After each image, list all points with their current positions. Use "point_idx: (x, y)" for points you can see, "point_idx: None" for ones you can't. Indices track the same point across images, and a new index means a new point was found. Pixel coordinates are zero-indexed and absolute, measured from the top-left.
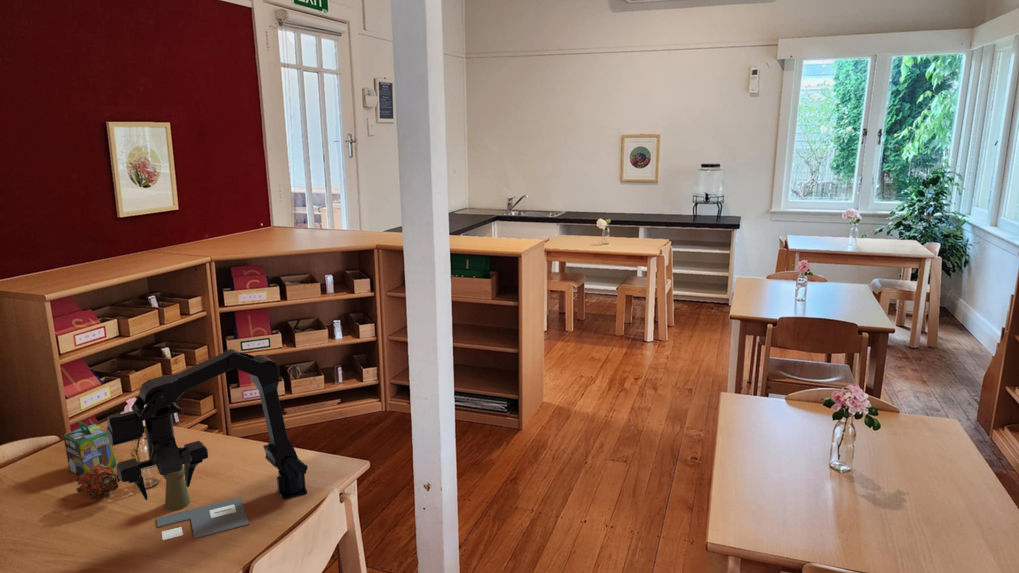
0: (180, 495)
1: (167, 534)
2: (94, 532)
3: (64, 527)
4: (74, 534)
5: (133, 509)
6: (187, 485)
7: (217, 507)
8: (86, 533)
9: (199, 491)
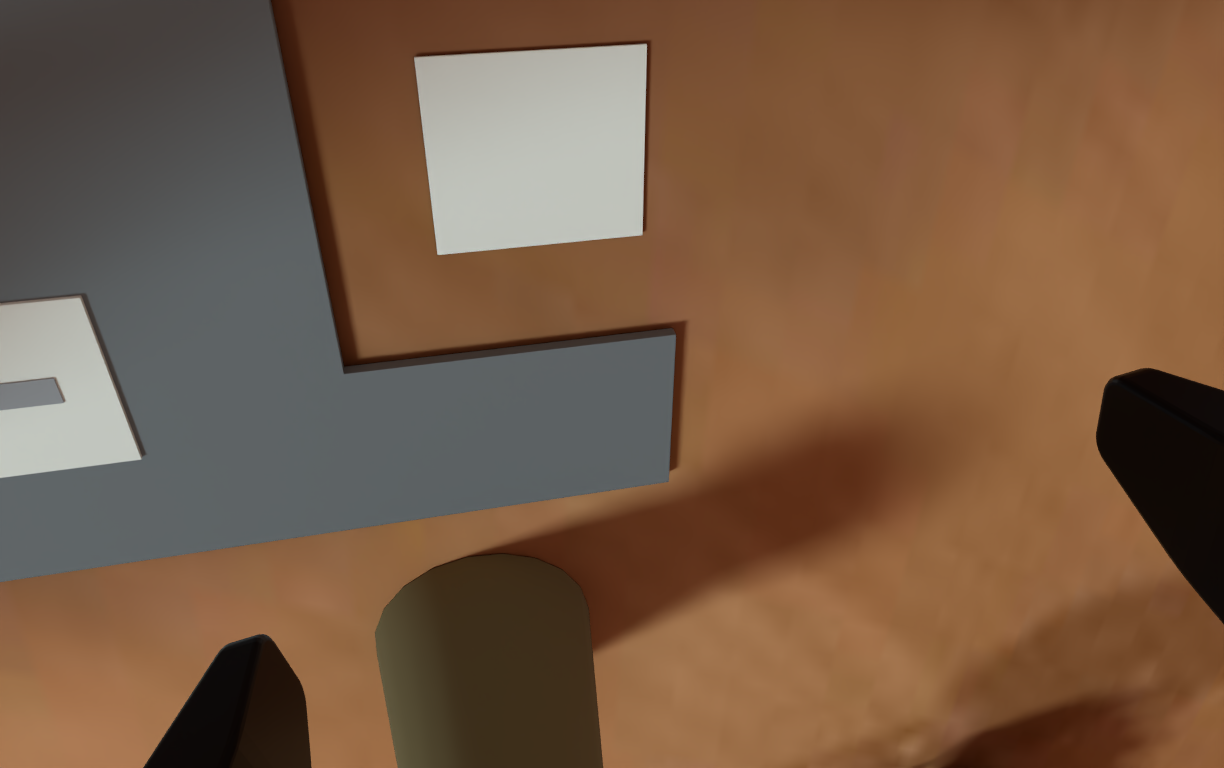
0: (458, 687)
1: (588, 151)
2: None
3: None
4: None
5: (807, 634)
6: (248, 669)
7: (52, 493)
8: None
9: None
